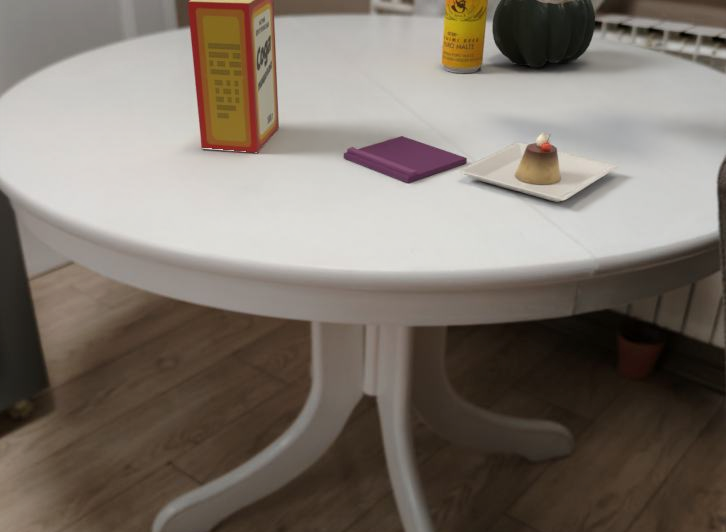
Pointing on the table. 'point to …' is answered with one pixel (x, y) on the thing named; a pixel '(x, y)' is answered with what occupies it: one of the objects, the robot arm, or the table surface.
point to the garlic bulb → (554, 1)
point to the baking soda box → (234, 72)
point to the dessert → (538, 170)
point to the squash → (543, 30)
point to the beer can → (464, 35)
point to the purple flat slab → (404, 158)
